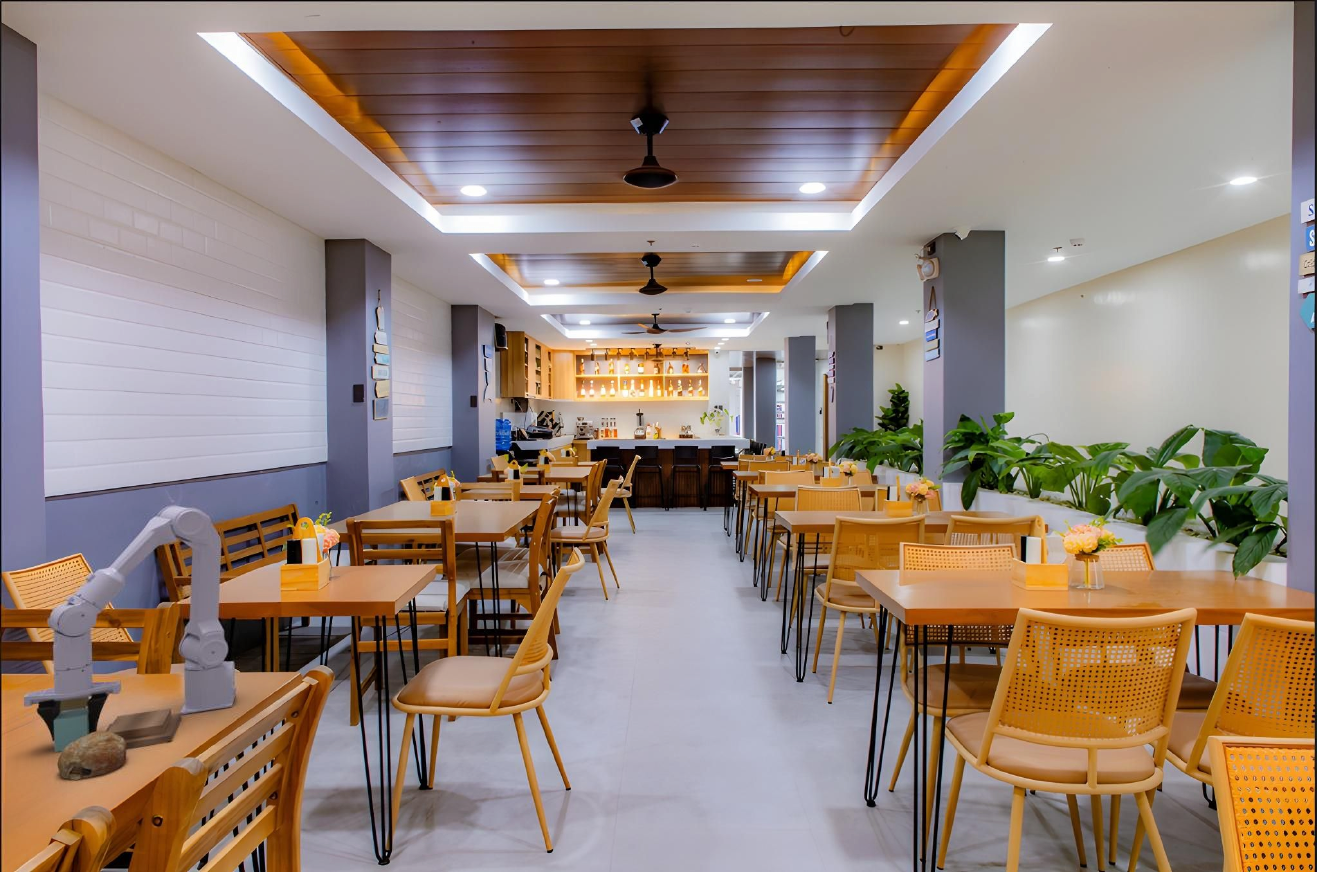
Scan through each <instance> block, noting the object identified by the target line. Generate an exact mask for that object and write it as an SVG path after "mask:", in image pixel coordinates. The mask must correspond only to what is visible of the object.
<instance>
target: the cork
mask: <svg viewBox="0 0 1317 872" xmlns="http://www.w3.org/2000/svg"><path fill="white" fill-rule="evenodd" d="M89 699H90V697H83V698H76V699H69V700H61V704H60V713H61V712H62V711H66V710H73V709H80V708H84V707H85V708H87V707H88V705H87V702H88V700H89Z"/></svg>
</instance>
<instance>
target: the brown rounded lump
mask: <svg viewBox="0 0 1317 872" xmlns="http://www.w3.org/2000/svg"><path fill="white" fill-rule="evenodd" d="M60 752H61V753H60V754H59V756H58V758H57V768H58V772H59V774H60V775H61V777H63V778H64V779H67V780H71V781H77V780H81V779H82V780H84V779H87V778H93V777H96V775H97V776H99V775H106V774H109V773H111V772H113V771H115V770H117V769H118V768H119V769H120V767H122V766H123V765H124V764H125V763H126V759H127V758H126V757H127V749H126V741H125V740H124V739H123V738H122V737H120V736H118V735H116V734H114V733H111V732H107V731H106V730H104V731H102V730H97V731H96V732H92V733H90V734H88V735H86V736H84V737H82V738H80V739H78V740H76V741H74V742H72V743H70V744H69V745H68V746H67V747H66V748H64V749H63V751H60Z"/></svg>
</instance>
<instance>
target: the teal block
mask: <svg viewBox="0 0 1317 872" xmlns="http://www.w3.org/2000/svg"><path fill="white" fill-rule="evenodd" d="M88 734H89V711H88V706H87V707H85V708H80V709H73V710H66V711H62V712H61V713H60V714H59V715H58V716H57V718H56V719H55V720H54V741H53V744H54V749H53V750H54V753H59V752H62V751H63V749H64V748H66V747H67V746H68V745H69V744H70V743H72V742H74V741H76V740H78V739H80V738H82V737H84V736H86V735H88Z"/></svg>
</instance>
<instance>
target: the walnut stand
mask: <svg viewBox="0 0 1317 872" xmlns="http://www.w3.org/2000/svg"><path fill="white" fill-rule="evenodd" d="M181 720H182V714H181V713H180V712H179V713H172V708H171V707H170V708H169V707H168V708H163V709H158V710H157V709H156V710H151V711H144V712H138V713H137V712H136V713H131V714H130V713H129V714H125V715H118V716H117V717H116V718H115V719H114V721H113V722H112V723H109V725H108V727H107V729H106V730H105V731H107V732H111V733H114V734H116V735H118V736H120V737H122V738H123V739H124V740H125V741H126V750H129V749H135V748H141V747H147V746H153V745H158V744H159V743H160V744H163V743H164V742H166V743H169V742H168V741H171V742H172V740H173V738H174V736H175V733H176V731H177V729H178V727H179V725H180V722H181ZM164 744H165V743H164Z"/></svg>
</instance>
